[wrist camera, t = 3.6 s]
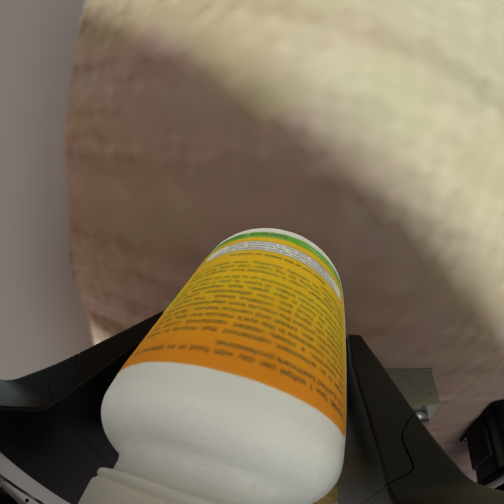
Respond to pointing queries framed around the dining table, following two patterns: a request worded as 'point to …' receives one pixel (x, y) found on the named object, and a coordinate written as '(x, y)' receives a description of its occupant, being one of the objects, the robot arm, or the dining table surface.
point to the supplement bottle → (235, 384)
